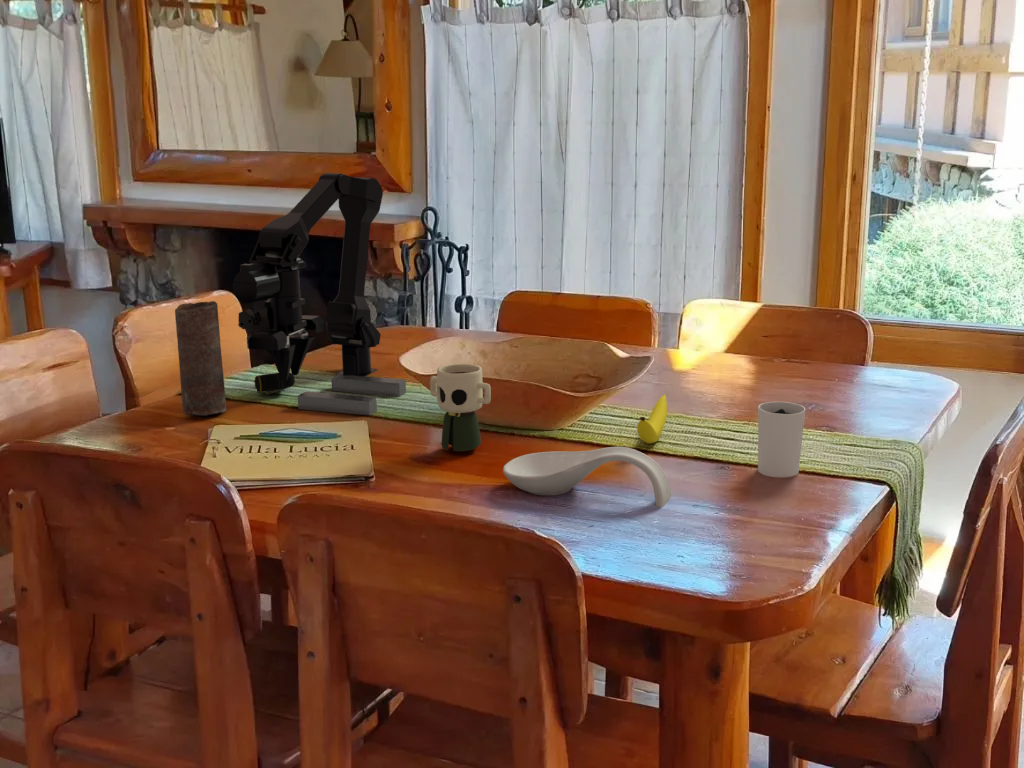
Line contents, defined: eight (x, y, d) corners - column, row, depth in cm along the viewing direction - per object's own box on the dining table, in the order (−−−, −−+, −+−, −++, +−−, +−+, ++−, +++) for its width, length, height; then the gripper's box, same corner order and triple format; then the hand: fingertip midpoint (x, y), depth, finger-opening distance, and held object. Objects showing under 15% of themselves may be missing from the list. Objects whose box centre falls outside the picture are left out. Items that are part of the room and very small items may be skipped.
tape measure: (297, 389, 202) (294, 369, 202) (261, 395, 199) (257, 375, 199) (288, 390, 208) (285, 370, 208) (253, 396, 205) (249, 376, 205)
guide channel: (339, 387, 208) (338, 374, 208) (406, 392, 204) (405, 379, 204) (298, 409, 194) (297, 395, 193) (369, 415, 189) (369, 401, 189)
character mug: (419, 449, 171) (417, 369, 167) (444, 437, 176) (442, 360, 173) (479, 460, 165) (477, 377, 162) (502, 447, 171) (501, 367, 168)
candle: (219, 421, 187) (210, 307, 182) (177, 421, 187) (166, 307, 182) (231, 409, 194) (223, 299, 189) (191, 409, 194) (181, 299, 189)
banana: (672, 423, 183) (673, 387, 182) (651, 457, 166) (652, 418, 164) (655, 421, 184) (656, 385, 182) (632, 456, 167) (633, 416, 165)
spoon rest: (490, 497, 150) (489, 448, 149) (522, 471, 161) (521, 425, 159) (656, 520, 142) (657, 468, 140) (678, 491, 152) (680, 442, 150)
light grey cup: (746, 469, 160) (749, 404, 158) (786, 464, 162) (789, 399, 160) (769, 483, 154) (773, 416, 152) (810, 478, 156) (815, 411, 153)
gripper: (271, 284, 209) (276, 363, 213) (217, 301, 192) (224, 386, 196) (323, 287, 206) (327, 367, 210) (273, 304, 188) (279, 391, 192)
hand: (289, 377), depth 202 cm, fingers open, 4 cm apart
